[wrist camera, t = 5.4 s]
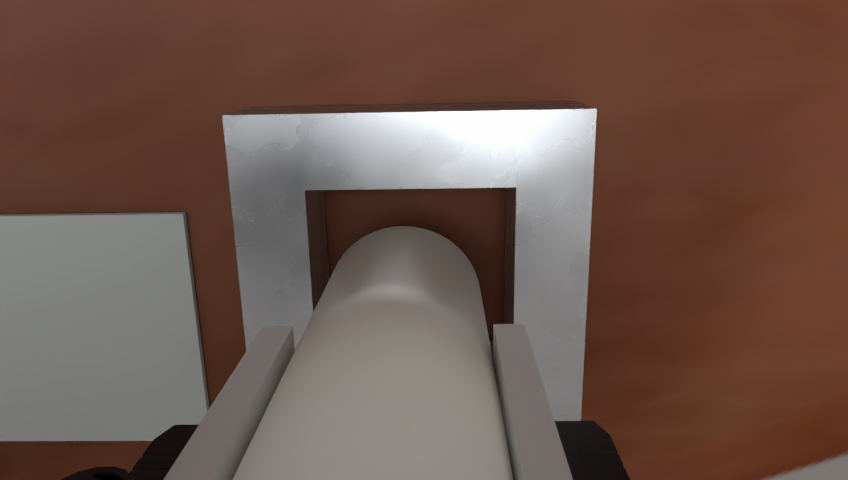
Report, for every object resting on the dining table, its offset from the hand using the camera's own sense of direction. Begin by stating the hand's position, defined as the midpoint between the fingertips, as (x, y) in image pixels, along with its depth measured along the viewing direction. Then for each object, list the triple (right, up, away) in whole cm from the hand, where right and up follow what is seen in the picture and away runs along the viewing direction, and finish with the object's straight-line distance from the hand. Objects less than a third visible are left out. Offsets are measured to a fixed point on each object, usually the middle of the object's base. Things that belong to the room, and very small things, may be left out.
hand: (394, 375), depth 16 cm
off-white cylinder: (0, +1, +5) cm, 5 cm away
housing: (0, +3, +10) cm, 10 cm away
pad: (-14, 0, +11) cm, 17 cm away
